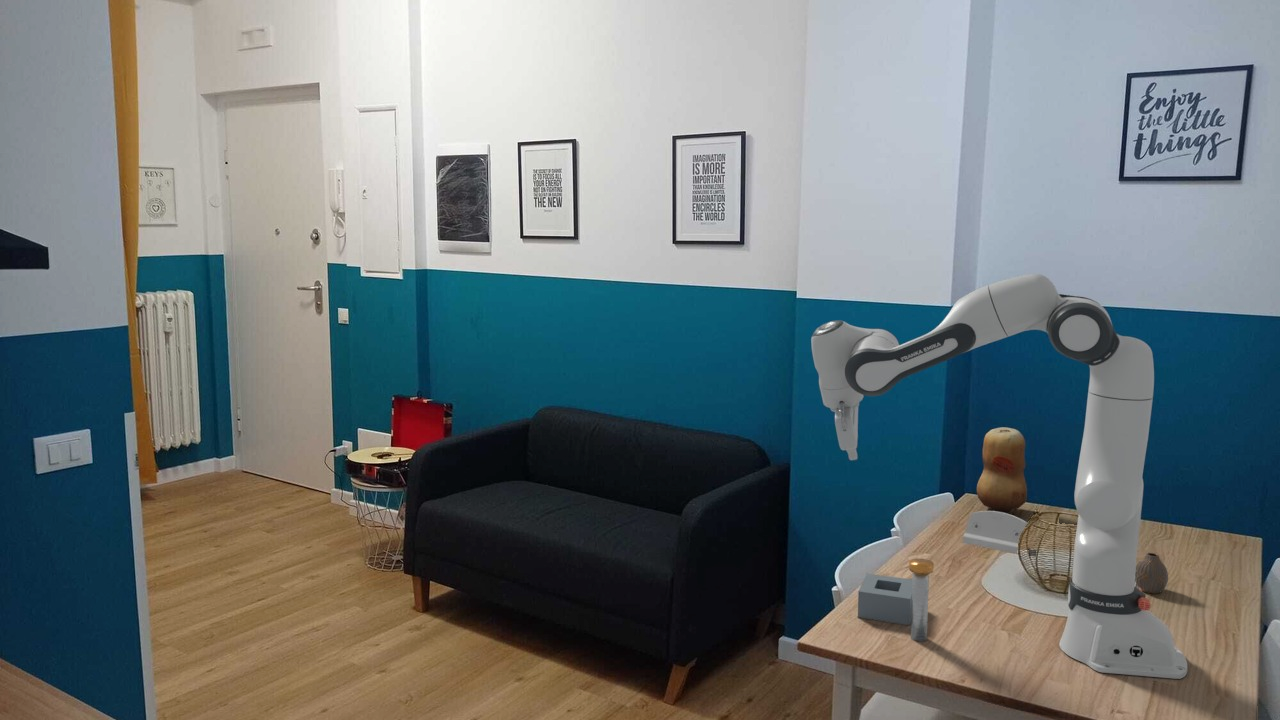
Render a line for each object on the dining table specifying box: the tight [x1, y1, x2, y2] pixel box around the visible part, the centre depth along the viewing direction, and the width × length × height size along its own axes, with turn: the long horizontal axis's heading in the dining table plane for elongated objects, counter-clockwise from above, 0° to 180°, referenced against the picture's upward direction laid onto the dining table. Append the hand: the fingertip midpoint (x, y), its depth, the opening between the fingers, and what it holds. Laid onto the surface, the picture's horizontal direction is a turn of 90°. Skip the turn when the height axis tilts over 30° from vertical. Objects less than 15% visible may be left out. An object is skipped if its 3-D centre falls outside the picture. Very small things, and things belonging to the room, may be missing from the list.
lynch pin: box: [908, 558, 935, 643], centre depth 189 cm, size 5×5×16 cm
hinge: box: [961, 510, 1029, 555], centre depth 243 cm, size 17×5×10 cm, turn 52°
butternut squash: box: [976, 426, 1028, 514], centre depth 269 cm, size 14×13×25 cm
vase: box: [1135, 552, 1169, 595], centre depth 212 cm, size 7×7×9 cm
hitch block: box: [857, 573, 913, 626], centre depth 203 cm, size 11×11×6 cm
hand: (854, 448), depth 204 cm, fingers open, 8 cm apart
